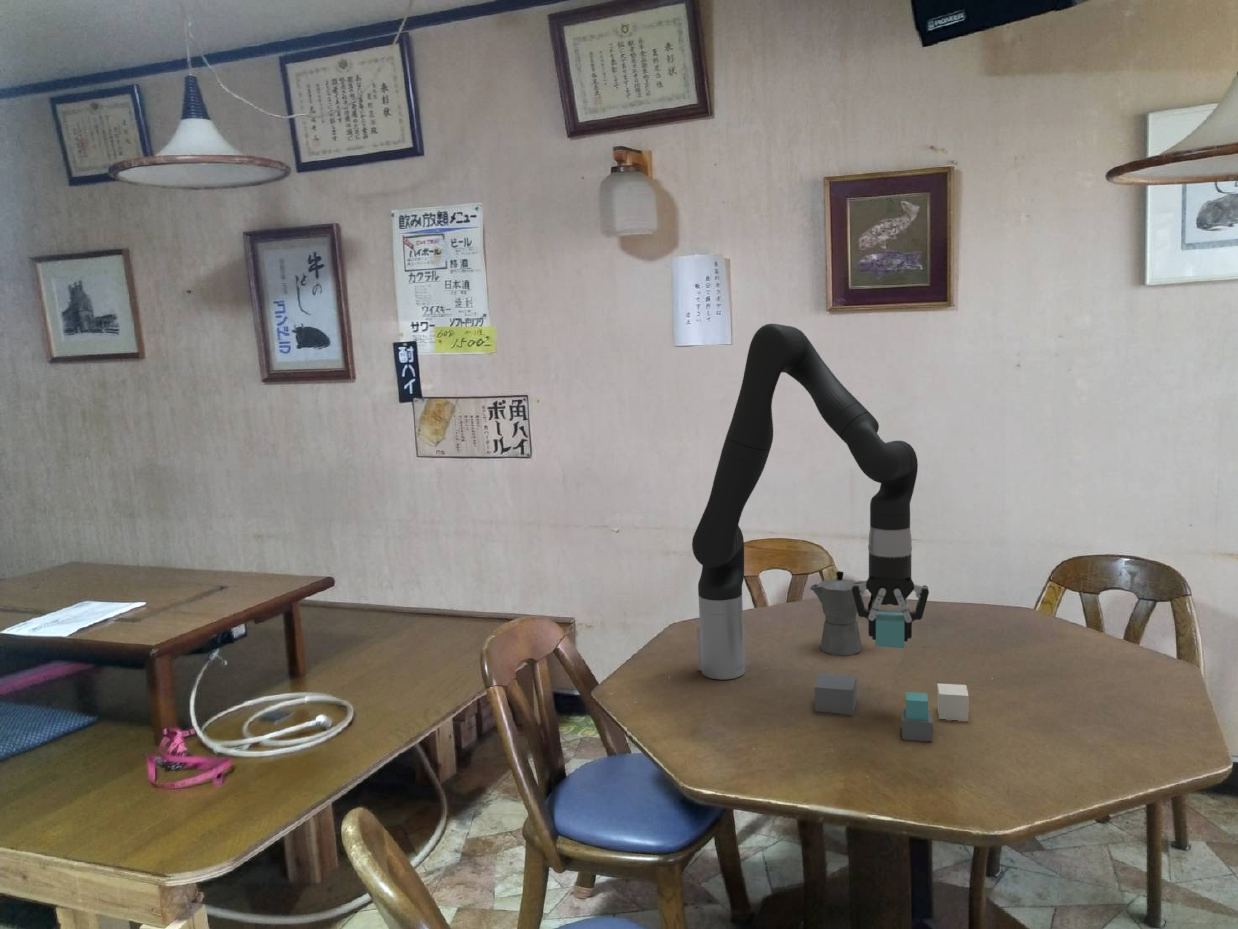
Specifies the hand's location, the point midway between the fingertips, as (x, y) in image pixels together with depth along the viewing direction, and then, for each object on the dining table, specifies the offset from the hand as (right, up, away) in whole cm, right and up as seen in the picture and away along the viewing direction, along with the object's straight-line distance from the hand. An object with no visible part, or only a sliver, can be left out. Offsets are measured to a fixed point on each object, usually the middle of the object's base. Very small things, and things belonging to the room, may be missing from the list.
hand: (889, 638), depth 164 cm
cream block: (+11, -14, -1) cm, 18 cm away
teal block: (0, -1, 0) cm, 1 cm away
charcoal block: (-9, -14, +5) cm, 17 cm away
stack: (+2, -15, -8) cm, 17 cm away
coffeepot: (+1, -9, +35) cm, 36 cm away
